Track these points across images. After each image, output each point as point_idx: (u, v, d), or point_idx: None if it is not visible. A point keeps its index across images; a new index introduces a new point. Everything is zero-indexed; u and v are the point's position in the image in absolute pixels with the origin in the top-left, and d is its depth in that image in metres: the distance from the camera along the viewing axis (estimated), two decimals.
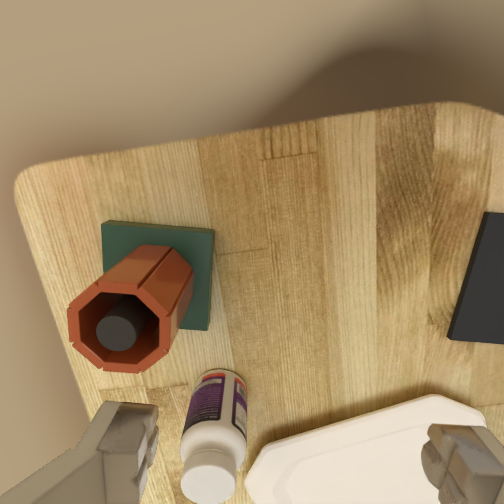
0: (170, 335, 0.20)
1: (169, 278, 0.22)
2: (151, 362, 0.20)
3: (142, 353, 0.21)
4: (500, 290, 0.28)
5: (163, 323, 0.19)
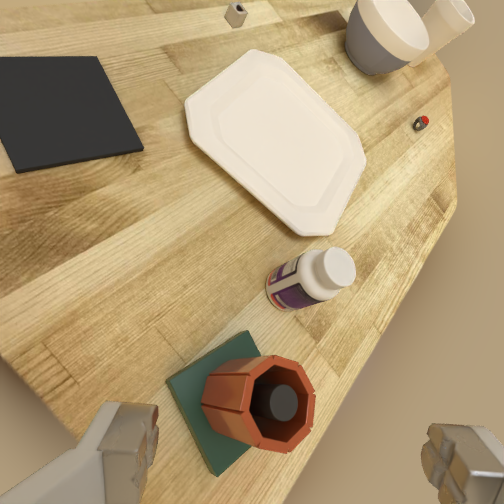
0: (261, 362, 0.24)
1: (224, 390, 0.25)
2: (288, 361, 0.25)
3: (287, 371, 0.26)
4: (80, 130, 0.32)
5: (256, 373, 0.23)
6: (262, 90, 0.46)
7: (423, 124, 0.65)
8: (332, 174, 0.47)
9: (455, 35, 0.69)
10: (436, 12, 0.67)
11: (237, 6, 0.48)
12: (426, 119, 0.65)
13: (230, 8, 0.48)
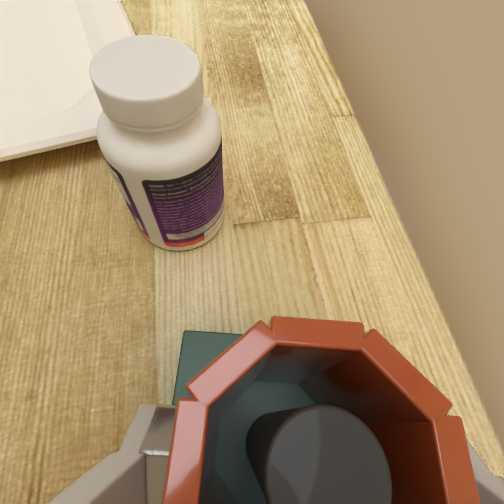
0: (170, 449, 0.06)
1: None
2: (235, 352, 0.07)
3: (270, 354, 0.08)
4: None
5: None
6: None
7: None
8: (79, 27, 0.26)
9: None
10: None
11: None
12: None
13: None
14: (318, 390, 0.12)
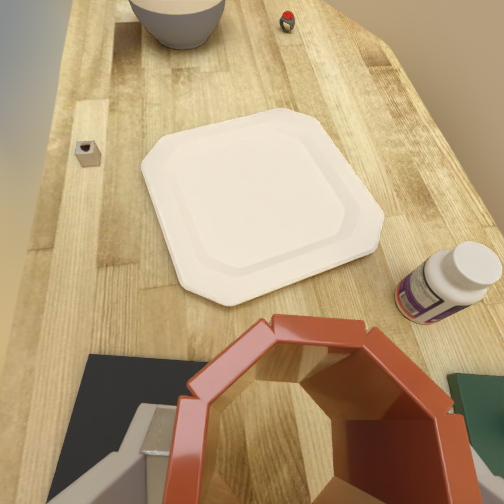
0: (171, 447, 0.06)
1: None
2: (236, 350, 0.07)
3: (271, 352, 0.08)
4: None
5: (184, 503, 0.06)
6: (193, 183, 0.39)
7: (291, 20, 0.56)
8: (315, 166, 0.41)
9: None
10: None
11: (82, 148, 0.39)
12: (289, 13, 0.55)
13: (80, 157, 0.39)
14: (319, 389, 0.12)
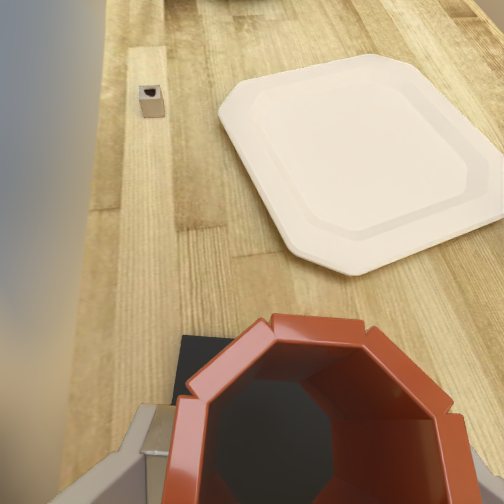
0: (170, 447, 0.06)
1: None
2: (235, 349, 0.07)
3: (271, 352, 0.08)
4: (305, 425, 0.21)
5: (183, 503, 0.06)
6: (281, 134, 0.32)
7: None
8: (422, 118, 0.35)
9: None
10: None
11: (147, 93, 0.33)
12: None
13: (144, 103, 0.33)
14: (318, 388, 0.12)
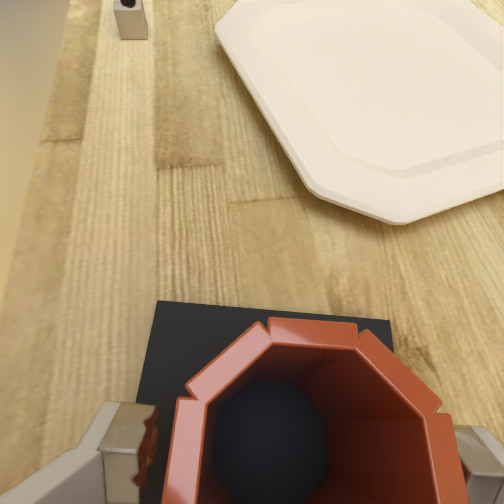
0: (170, 446, 0.07)
1: None
2: (233, 352, 0.08)
3: (267, 354, 0.09)
4: None
5: (183, 500, 0.06)
6: (295, 58, 0.25)
7: None
8: (469, 46, 0.28)
9: None
10: None
11: (124, 3, 0.26)
12: None
13: (120, 17, 0.26)
14: (314, 389, 0.13)
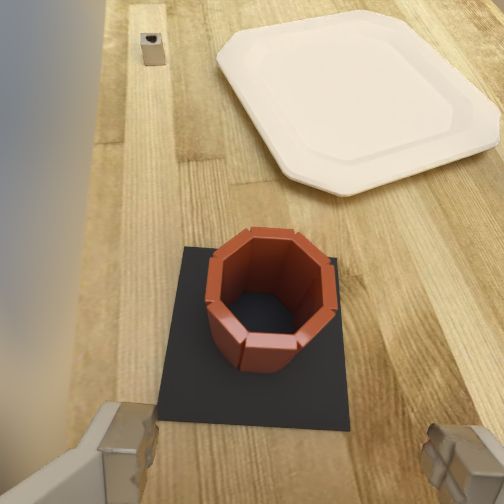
0: (208, 275, 0.15)
1: (223, 341, 0.17)
2: (234, 240, 0.16)
3: (251, 248, 0.17)
4: None
5: (214, 292, 0.15)
6: (277, 78, 0.34)
7: None
8: (410, 66, 0.36)
9: None
10: None
11: (148, 39, 0.34)
12: None
13: (145, 49, 0.34)
14: (282, 288, 0.21)
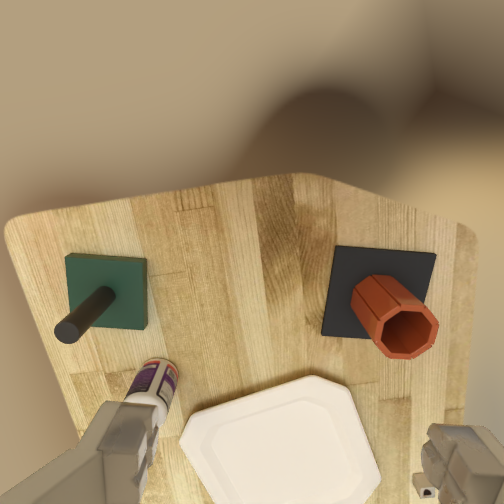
0: (435, 335, 0.32)
1: None
2: (420, 352, 0.33)
3: (406, 347, 0.34)
4: None
5: (434, 328, 0.32)
6: (337, 463, 0.47)
7: None
8: (231, 479, 0.47)
9: None
10: None
11: (429, 492, 0.47)
12: None
13: (430, 483, 0.47)
14: None
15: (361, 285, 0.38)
